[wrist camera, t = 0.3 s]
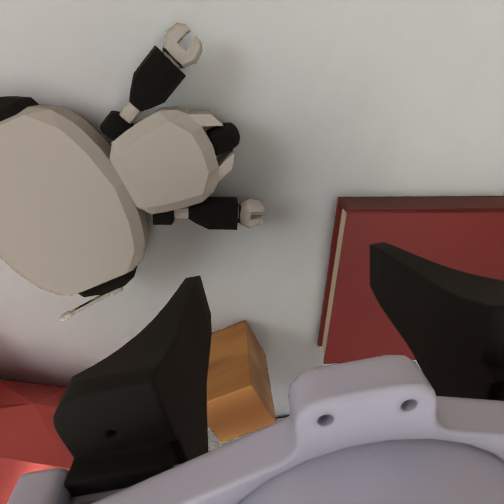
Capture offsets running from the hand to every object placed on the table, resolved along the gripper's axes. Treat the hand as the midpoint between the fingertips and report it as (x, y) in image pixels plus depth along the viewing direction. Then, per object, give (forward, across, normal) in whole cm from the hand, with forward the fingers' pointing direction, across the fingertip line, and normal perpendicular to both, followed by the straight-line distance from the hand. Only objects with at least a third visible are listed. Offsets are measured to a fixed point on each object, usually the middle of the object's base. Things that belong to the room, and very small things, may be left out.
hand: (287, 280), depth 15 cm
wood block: (+10, +4, +12) cm, 16 cm away
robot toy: (+10, +8, -4) cm, 13 cm away
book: (+10, -13, +9) cm, 18 cm away
